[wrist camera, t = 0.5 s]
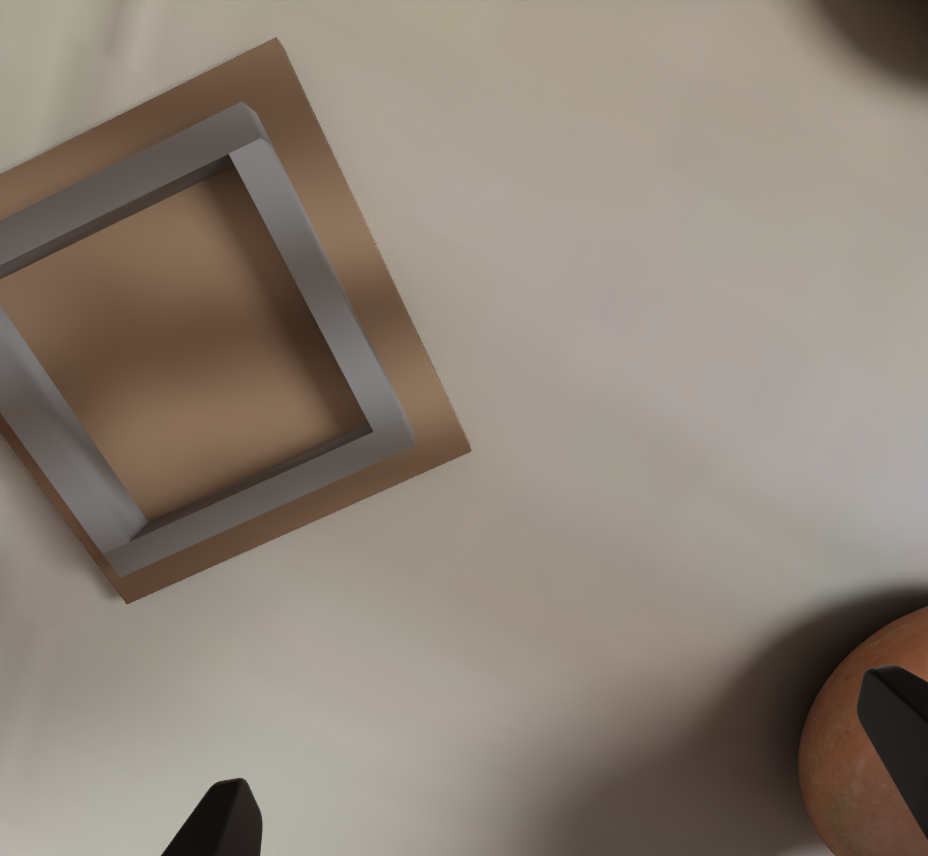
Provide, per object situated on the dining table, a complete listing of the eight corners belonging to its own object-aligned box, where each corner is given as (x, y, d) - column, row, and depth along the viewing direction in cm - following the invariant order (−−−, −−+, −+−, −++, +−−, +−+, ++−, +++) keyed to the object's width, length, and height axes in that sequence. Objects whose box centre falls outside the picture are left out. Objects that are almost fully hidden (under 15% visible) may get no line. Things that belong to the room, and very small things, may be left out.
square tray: (469, 444, 22) (475, 466, 20) (136, 592, 23) (106, 629, 21) (282, 45, 18) (263, 18, 16) (-115, 243, 19) (-186, 243, 17)
